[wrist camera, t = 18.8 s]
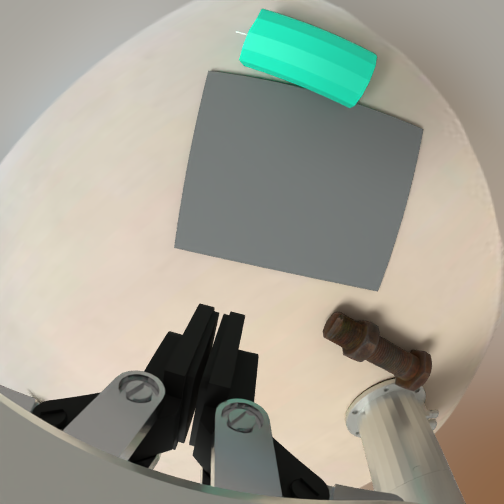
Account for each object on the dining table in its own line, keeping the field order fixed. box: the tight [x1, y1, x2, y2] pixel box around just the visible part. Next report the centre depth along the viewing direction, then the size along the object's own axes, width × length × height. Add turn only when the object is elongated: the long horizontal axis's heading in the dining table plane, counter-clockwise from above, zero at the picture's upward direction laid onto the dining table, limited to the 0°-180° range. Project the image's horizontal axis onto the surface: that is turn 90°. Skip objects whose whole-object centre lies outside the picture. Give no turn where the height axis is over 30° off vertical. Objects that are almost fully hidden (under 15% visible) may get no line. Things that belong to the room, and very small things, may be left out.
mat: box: [174, 71, 423, 291], centre depth 28 cm, size 22×18×1 cm
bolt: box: [323, 312, 432, 391], centre depth 31 cm, size 6×5×15 cm
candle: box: [236, 9, 377, 108], centre depth 22 cm, size 6×6×12 cm
